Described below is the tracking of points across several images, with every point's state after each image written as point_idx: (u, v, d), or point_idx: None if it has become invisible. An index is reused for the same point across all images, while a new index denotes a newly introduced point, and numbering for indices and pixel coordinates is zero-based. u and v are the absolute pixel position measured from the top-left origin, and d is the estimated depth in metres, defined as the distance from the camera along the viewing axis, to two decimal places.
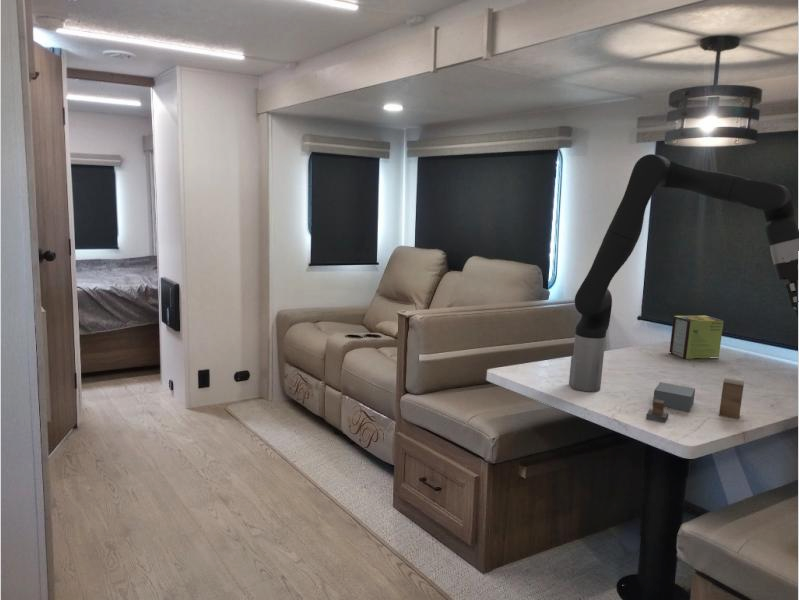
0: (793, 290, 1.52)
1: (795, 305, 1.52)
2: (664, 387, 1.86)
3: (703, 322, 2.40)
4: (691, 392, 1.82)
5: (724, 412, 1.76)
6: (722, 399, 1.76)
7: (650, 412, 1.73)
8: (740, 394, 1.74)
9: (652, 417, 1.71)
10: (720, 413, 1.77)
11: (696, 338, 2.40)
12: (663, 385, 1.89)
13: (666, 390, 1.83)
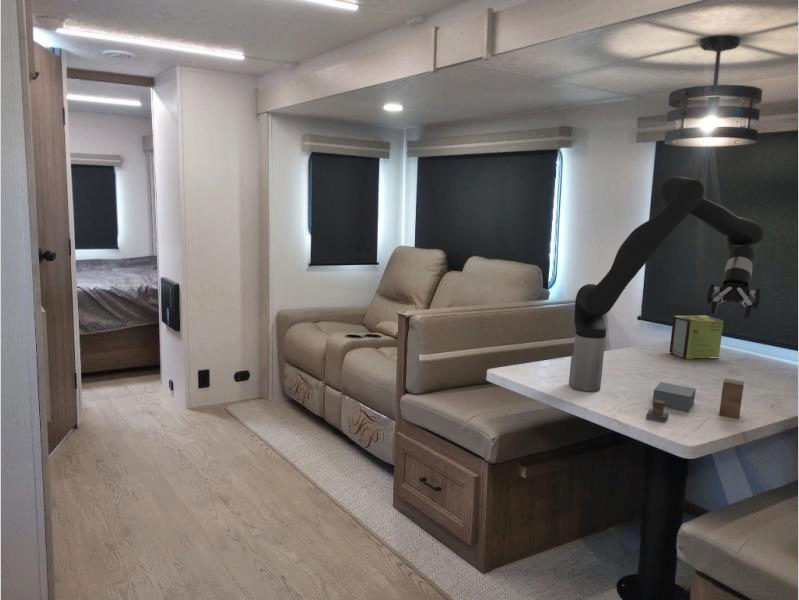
0: None
1: (758, 305, 1.85)
2: (664, 387, 1.86)
3: (703, 322, 2.40)
4: (691, 392, 1.82)
5: (724, 412, 1.76)
6: (722, 399, 1.76)
7: (650, 412, 1.73)
8: (740, 394, 1.74)
9: (652, 417, 1.71)
10: (720, 413, 1.77)
11: (696, 338, 2.40)
12: (663, 385, 1.89)
13: (666, 390, 1.83)
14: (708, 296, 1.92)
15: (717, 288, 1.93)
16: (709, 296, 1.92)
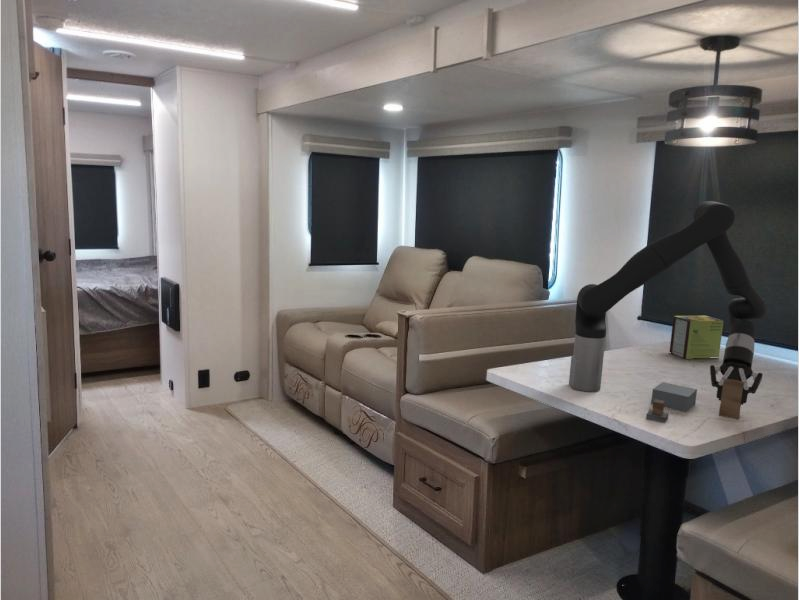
0: (759, 380, 1.76)
1: (755, 389, 1.75)
2: (664, 387, 1.87)
3: (703, 322, 2.40)
4: (690, 392, 1.82)
5: (724, 411, 1.76)
6: (722, 399, 1.76)
7: (650, 412, 1.73)
8: (740, 394, 1.74)
9: (652, 417, 1.71)
10: (720, 413, 1.77)
11: (696, 338, 2.40)
12: (664, 385, 1.89)
13: (665, 390, 1.84)
14: (713, 379, 1.80)
15: (718, 368, 1.82)
16: (714, 379, 1.80)
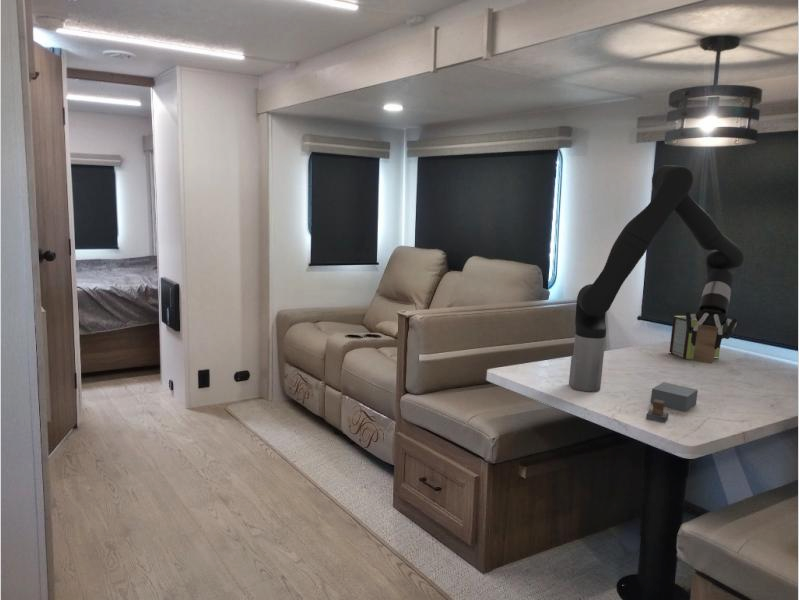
0: (734, 326, 1.78)
1: (729, 334, 1.76)
2: (665, 386, 1.87)
3: None
4: (690, 393, 1.82)
5: (698, 356, 1.78)
6: (696, 344, 1.78)
7: (650, 412, 1.73)
8: (714, 338, 1.75)
9: (652, 417, 1.71)
10: (694, 358, 1.78)
11: None
12: (665, 384, 1.89)
13: (664, 389, 1.84)
14: (688, 325, 1.82)
15: (693, 315, 1.84)
16: (689, 325, 1.81)
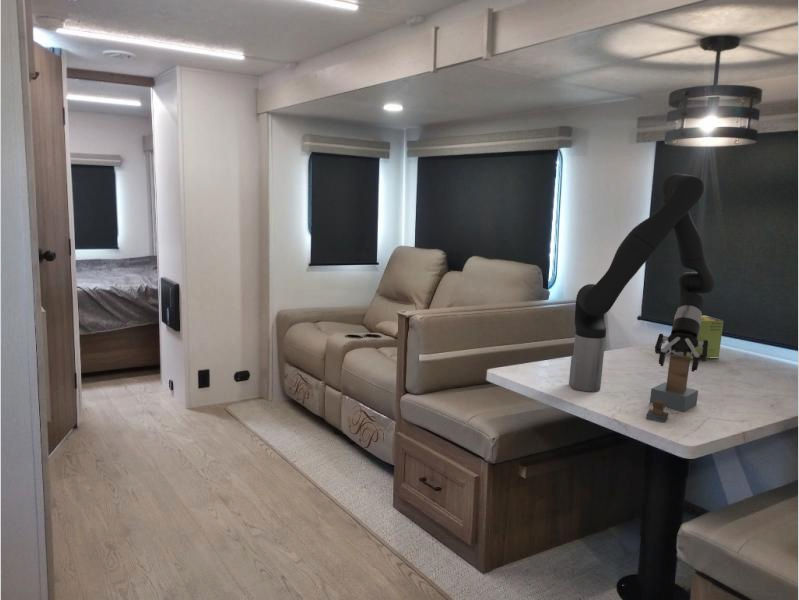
0: (707, 347, 1.83)
1: (705, 357, 1.81)
2: (665, 387, 1.87)
3: (703, 322, 2.40)
4: (690, 393, 1.82)
5: (670, 386, 1.83)
6: (669, 374, 1.83)
7: (650, 412, 1.73)
8: (685, 369, 1.80)
9: (652, 417, 1.71)
10: (667, 387, 1.84)
11: None
12: (665, 385, 1.89)
13: (664, 389, 1.84)
14: (656, 346, 1.88)
15: (666, 338, 1.89)
16: (657, 346, 1.88)
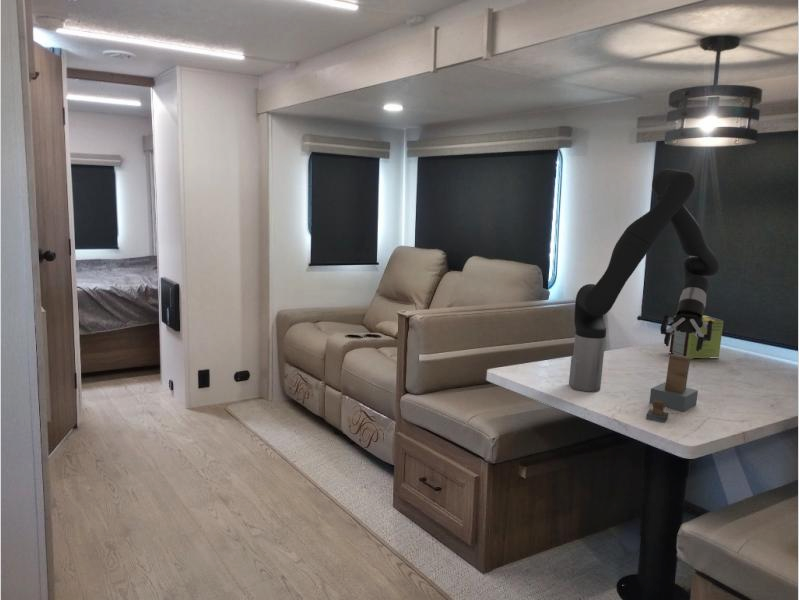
0: (711, 327, 1.87)
1: (710, 337, 1.85)
2: (664, 387, 1.87)
3: None
4: (689, 393, 1.82)
5: (669, 385, 1.83)
6: (668, 373, 1.83)
7: (650, 412, 1.73)
8: (685, 368, 1.80)
9: (652, 417, 1.71)
10: (666, 387, 1.84)
11: (696, 338, 2.40)
12: None
13: (663, 389, 1.84)
14: (662, 327, 1.92)
15: (671, 318, 1.94)
16: (663, 327, 1.92)
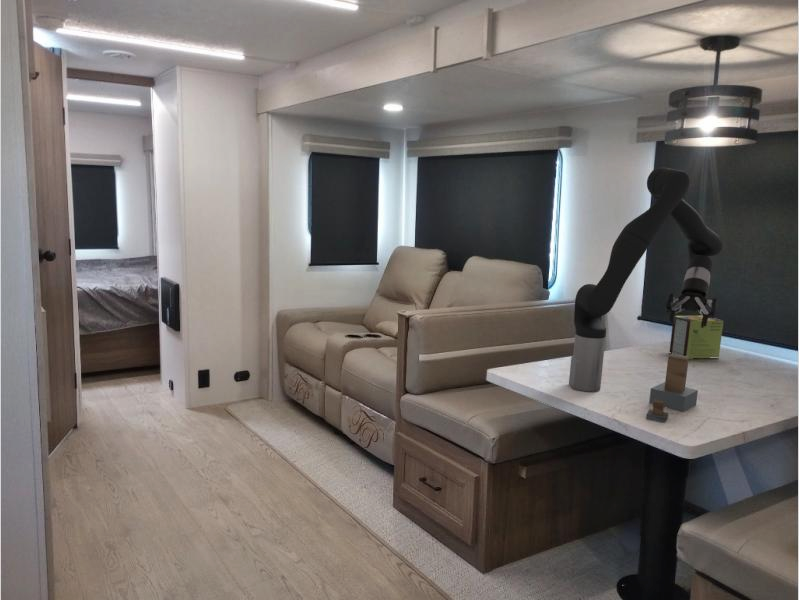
0: (715, 305, 1.92)
1: (714, 314, 1.90)
2: (664, 386, 1.87)
3: None
4: (689, 393, 1.82)
5: (669, 385, 1.83)
6: (667, 373, 1.83)
7: (650, 412, 1.73)
8: (684, 368, 1.81)
9: (652, 417, 1.71)
10: (665, 387, 1.84)
11: (696, 338, 2.40)
12: None
13: (663, 389, 1.84)
14: (667, 305, 1.97)
15: (676, 297, 1.98)
16: (668, 305, 1.97)
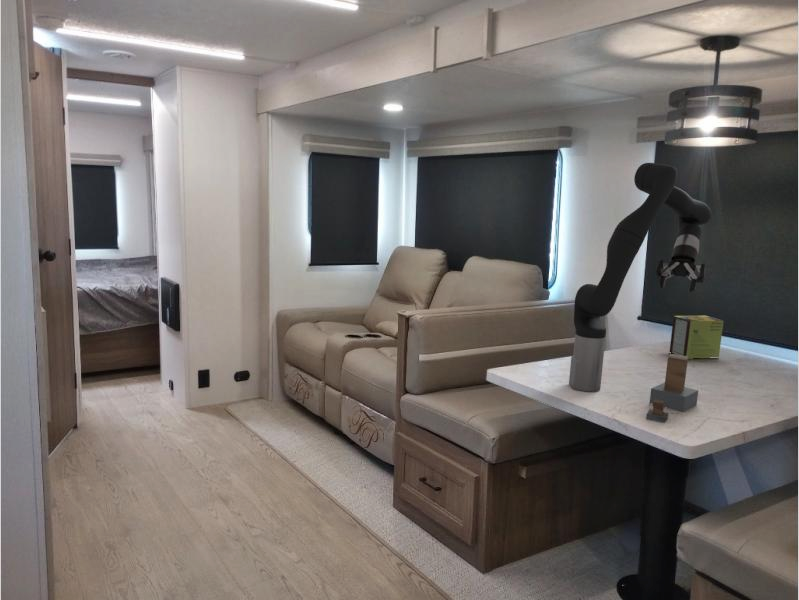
0: None
1: (703, 278, 1.96)
2: None
3: (703, 322, 2.40)
4: (689, 393, 1.81)
5: (668, 386, 1.83)
6: (667, 374, 1.83)
7: (650, 412, 1.73)
8: (683, 368, 1.81)
9: (652, 417, 1.71)
10: (665, 387, 1.84)
11: (696, 338, 2.40)
12: None
13: None
14: (657, 271, 2.02)
15: (666, 264, 2.04)
16: (658, 271, 2.02)
